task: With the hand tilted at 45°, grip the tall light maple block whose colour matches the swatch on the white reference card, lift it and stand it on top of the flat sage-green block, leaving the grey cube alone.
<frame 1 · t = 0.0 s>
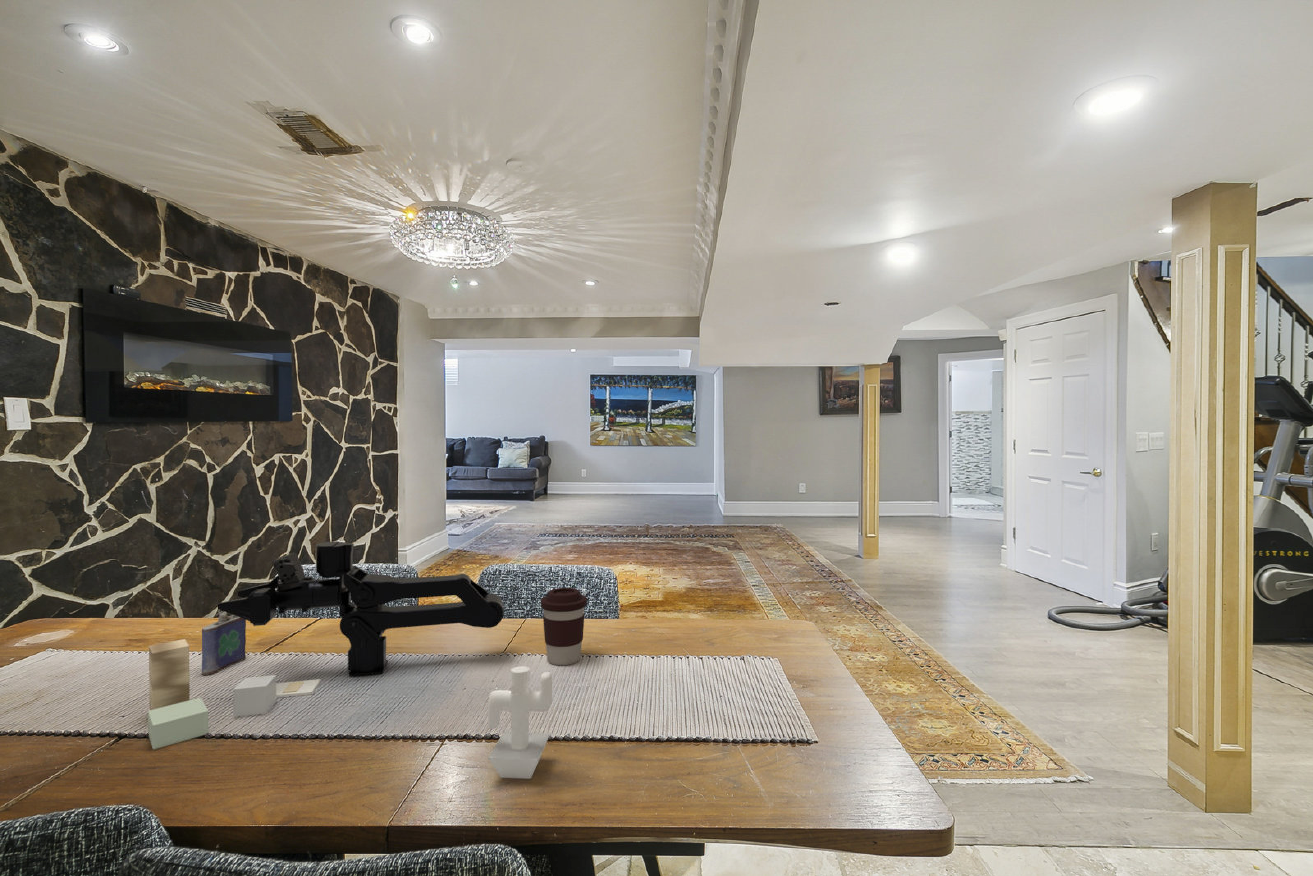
hand: (228, 599, 118), 17 cm above the table, tool horizontal, fingers open, 9 cm apart
flask: (224, 667, 127), on the table
maple pillar: (169, 713, 105), on the table
coffee cup: (563, 660, 130), on the table
grey cube: (255, 709, 107), on the table
figurine: (520, 771, 88), on the table
reference card: (293, 690, 115), on the table
sage base block: (178, 735, 98), on the table
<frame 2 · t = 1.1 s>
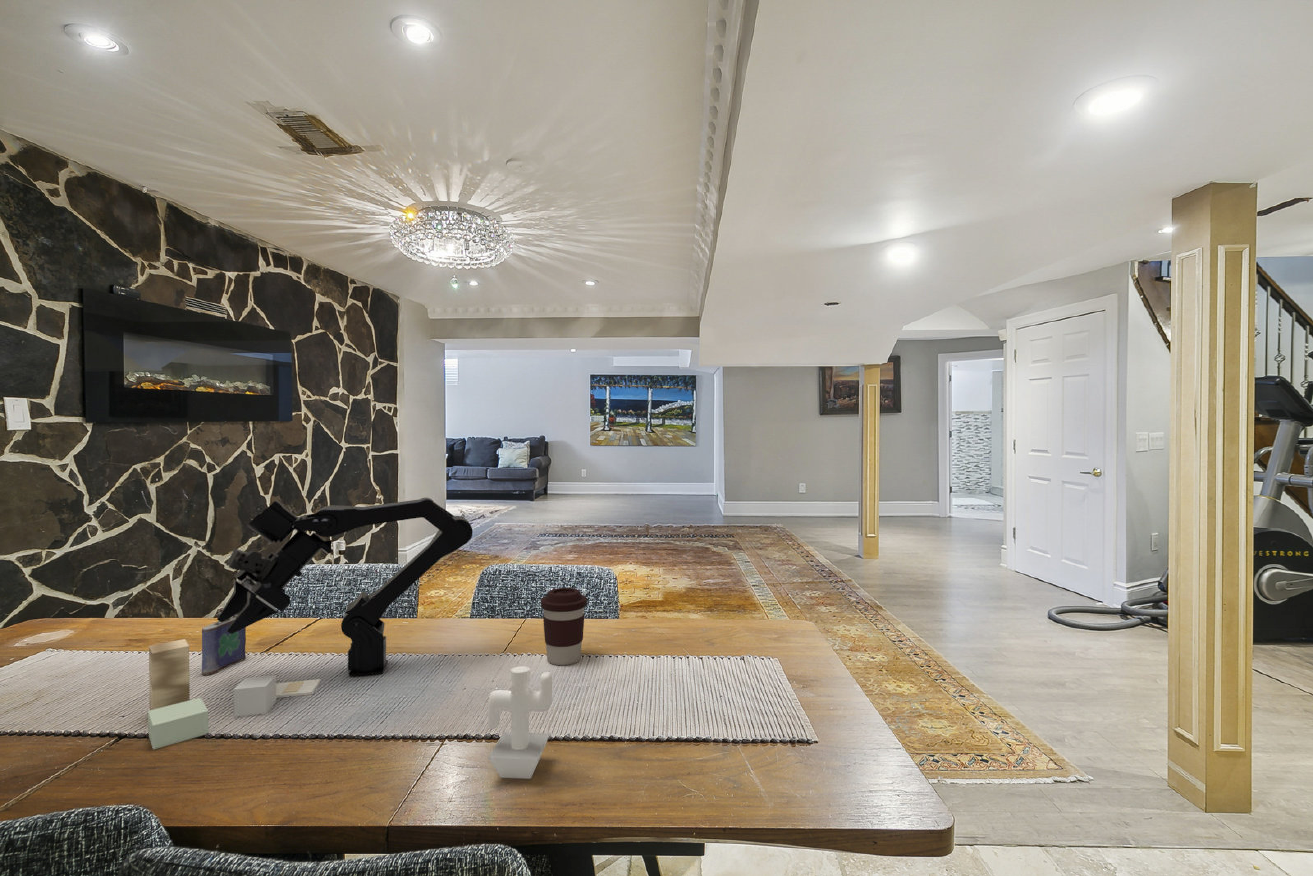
hand: (223, 626, 111), 14 cm above the table, tool tilted 45°, fingers open, 9 cm apart
nothing on the table moved.
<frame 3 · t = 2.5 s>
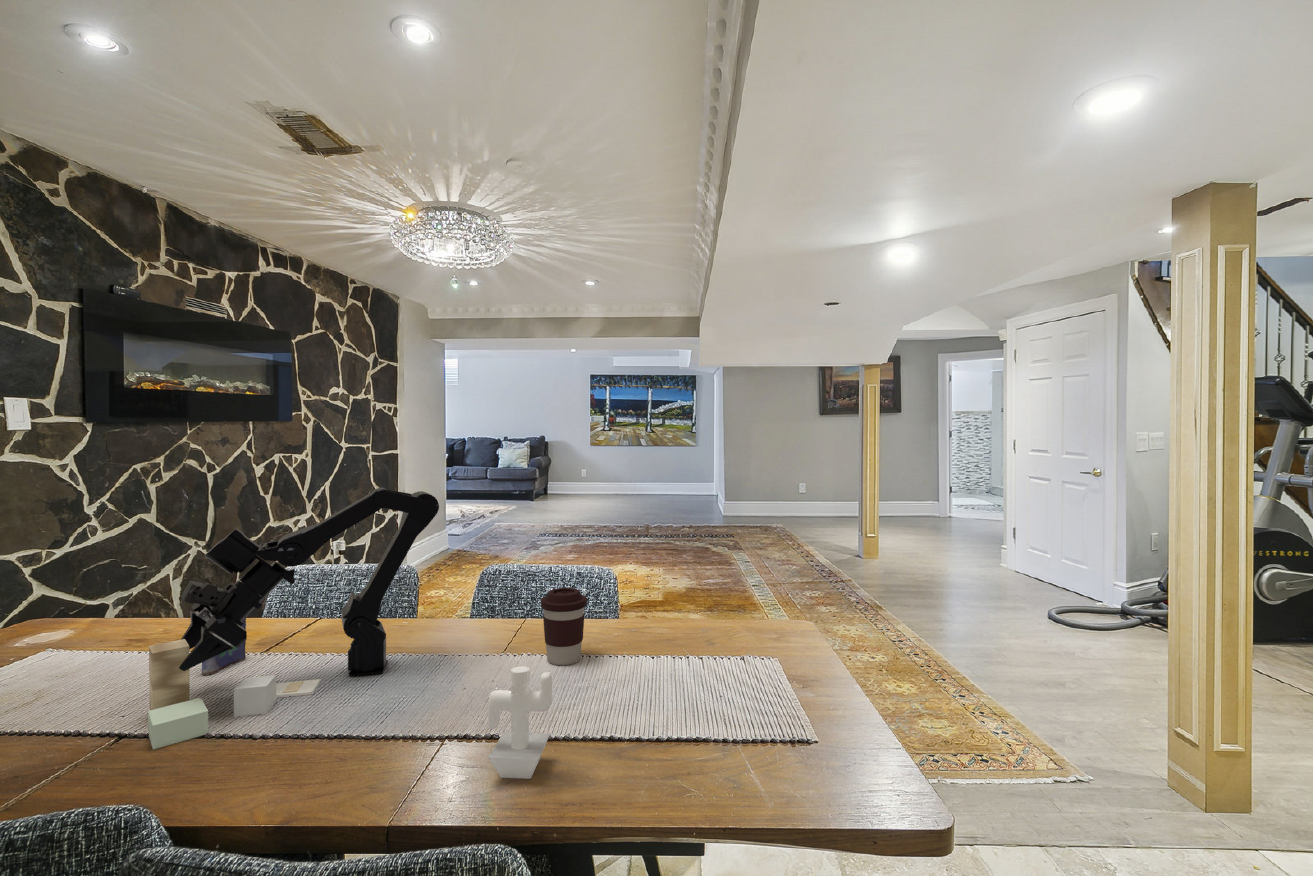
hand: (177, 662, 106), 9 cm above the table, tool tilted 45°, fingers open, 9 cm apart
nothing on the table moved.
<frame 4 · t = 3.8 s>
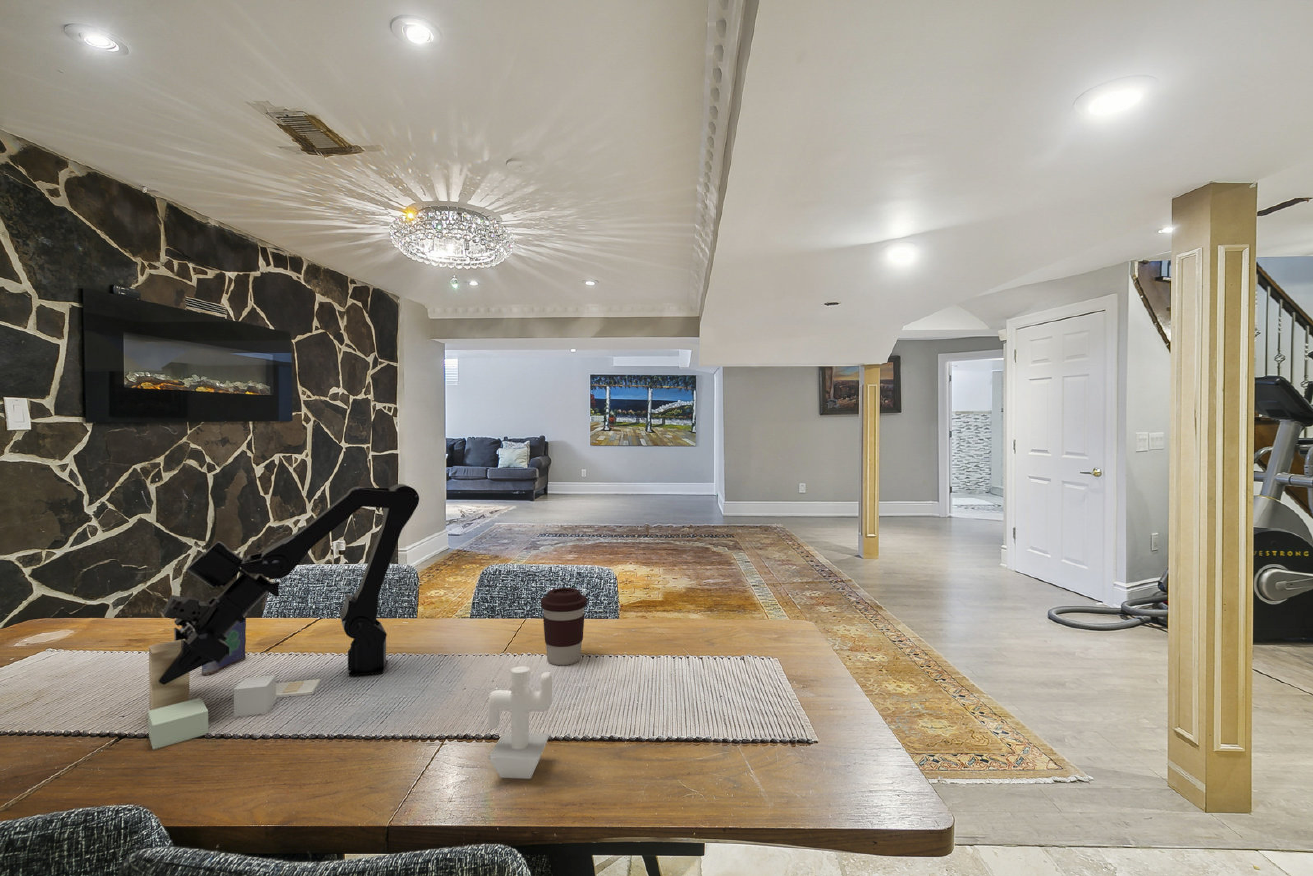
hand: (159, 678, 104), 7 cm above the table, tool tilted 45°, fingers closed on maple pillar, 5 cm apart
maple pillar: (169, 713, 105), on the table, touching gripper
everything else where it was.
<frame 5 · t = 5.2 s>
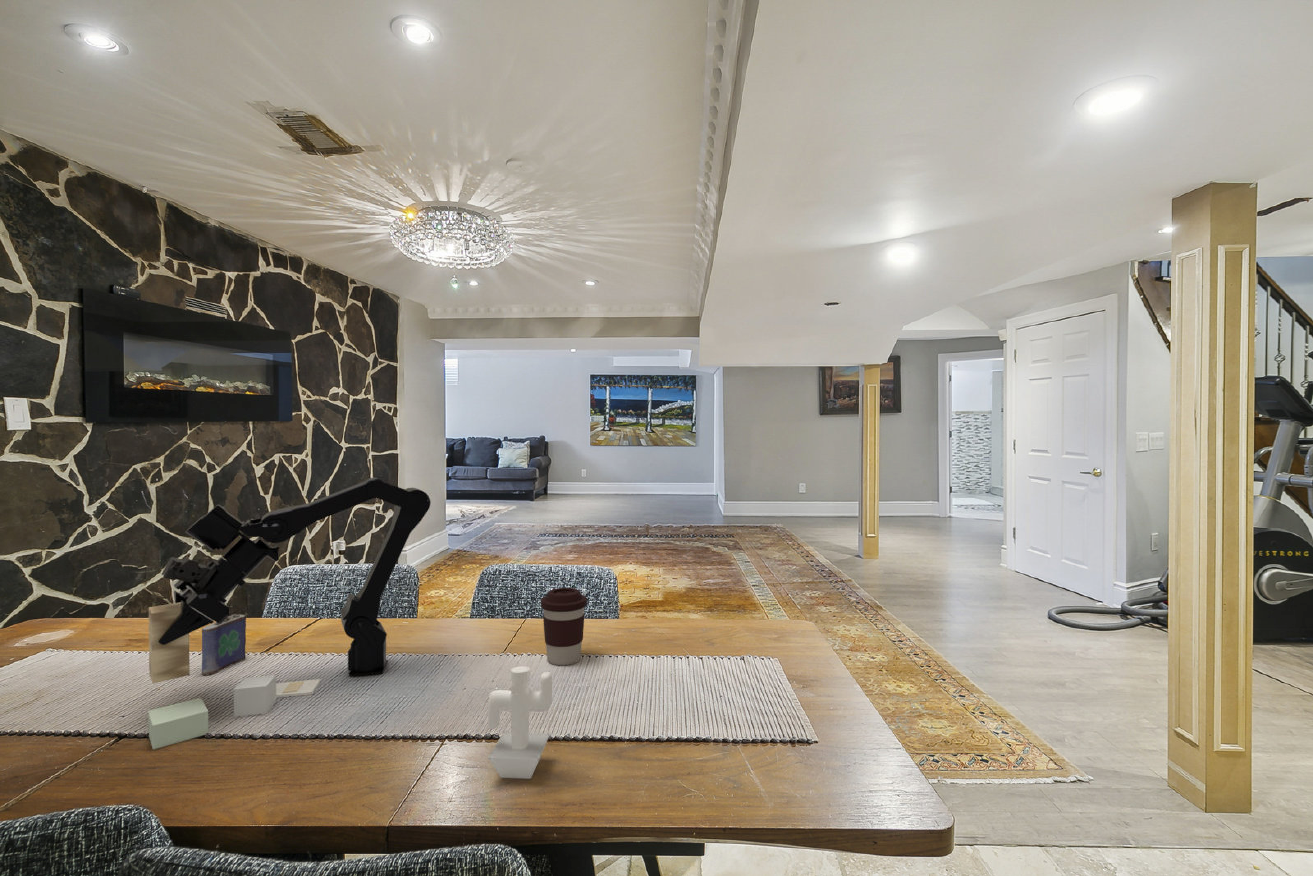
hand: (158, 639, 104), 13 cm above the table, tool tilted 45°, fingers closed on maple pillar, 5 cm apart
maple pillar: (169, 675, 105), point 7 cm above the table, touching gripper
everything else where it was.
when the fingers open (11 cm above the table, at t = 6.8 s): maple pillar drops 1 cm, resting on sage base block.
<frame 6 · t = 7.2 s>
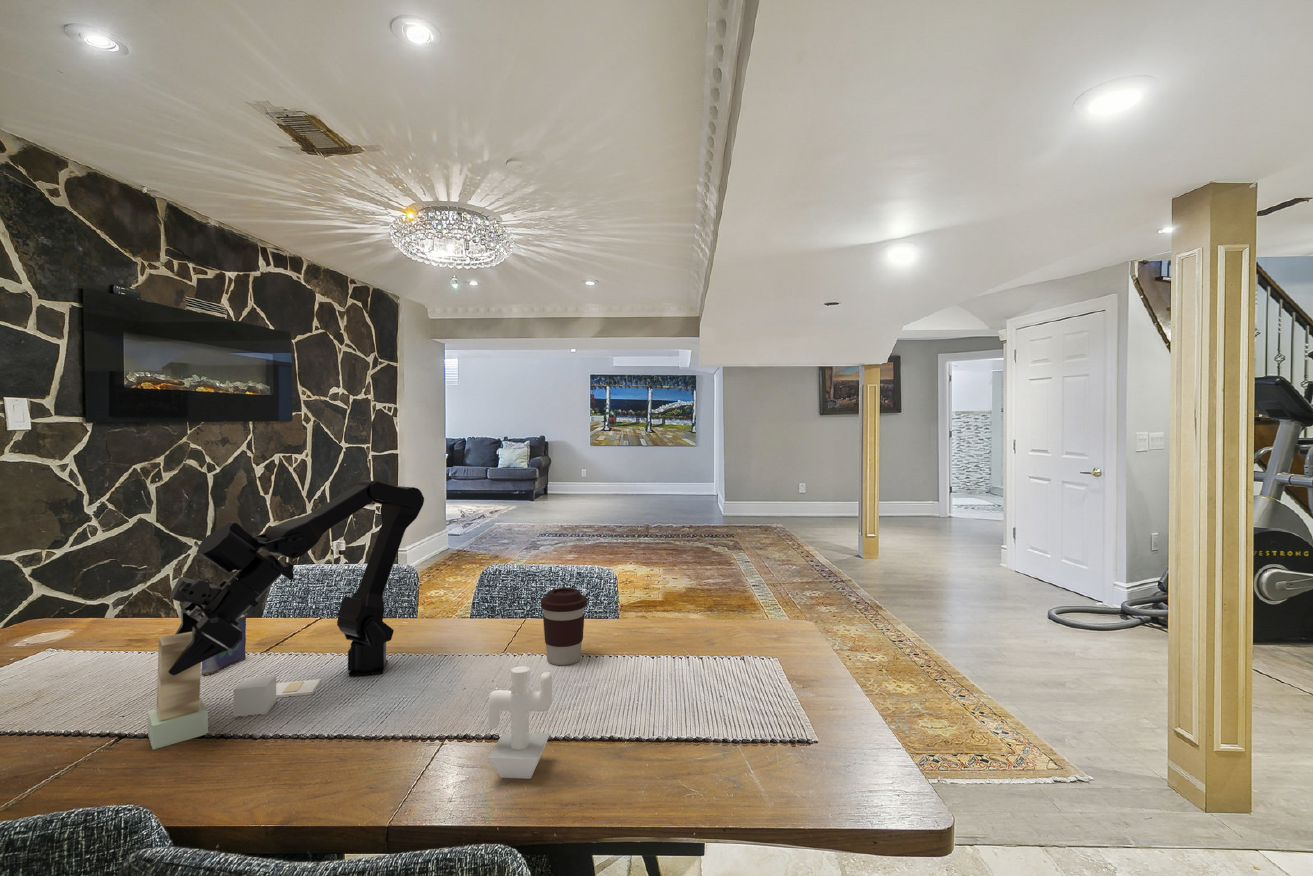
hand: (166, 665, 97), 12 cm above the table, tool tilted 45°, fingers open, 9 cm apart
maple pillar: (177, 710, 98), point 4 cm above the table, touching sage base block
sage base block: (177, 735, 98), on the table, touching maple pillar
everything else where it was.
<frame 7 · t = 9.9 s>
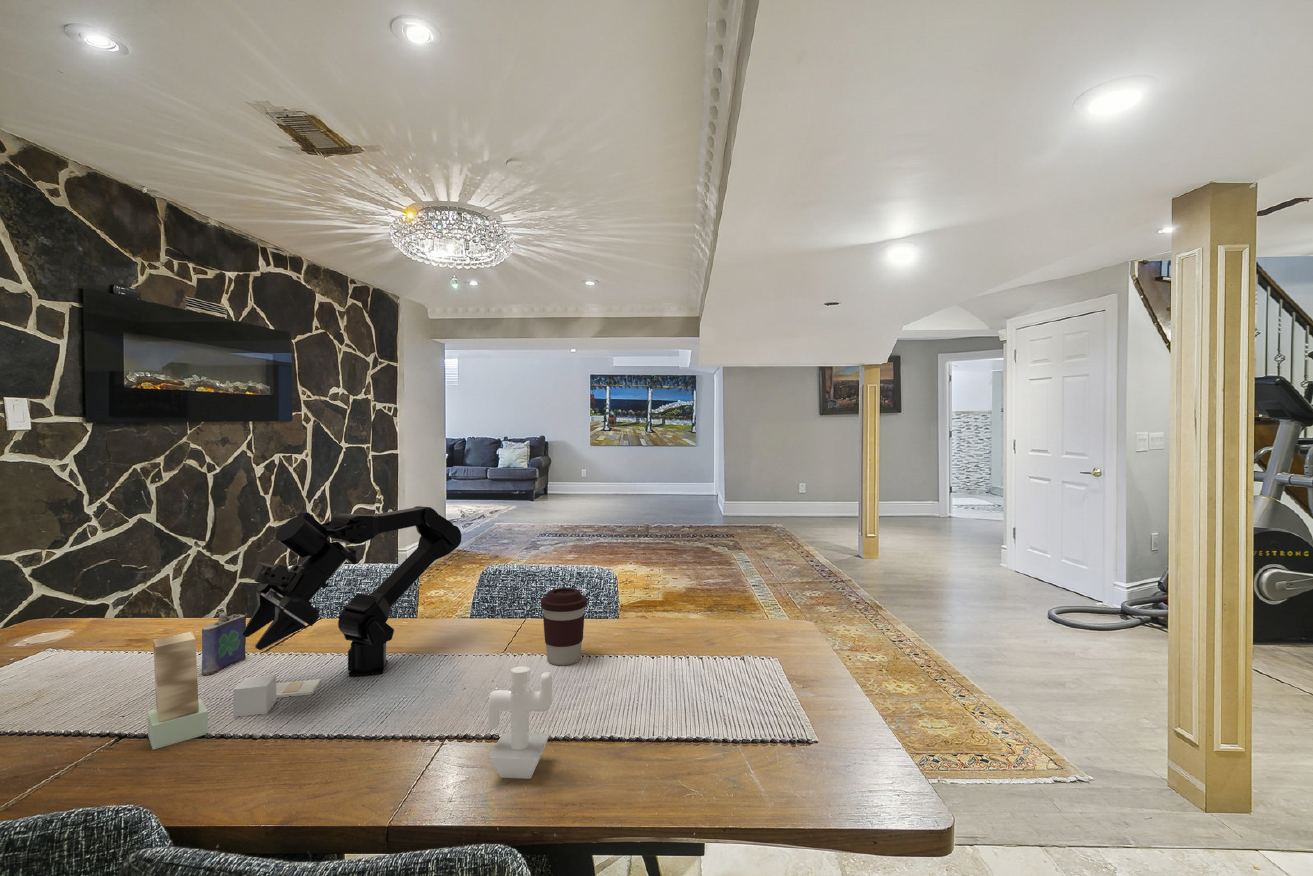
hand: (250, 642, 107), 12 cm above the table, tool tilted 45°, fingers open, 9 cm apart
maple pillar: (177, 711, 98), point 4 cm above the table
sage base block: (177, 735, 98), on the table
everything else where it was.
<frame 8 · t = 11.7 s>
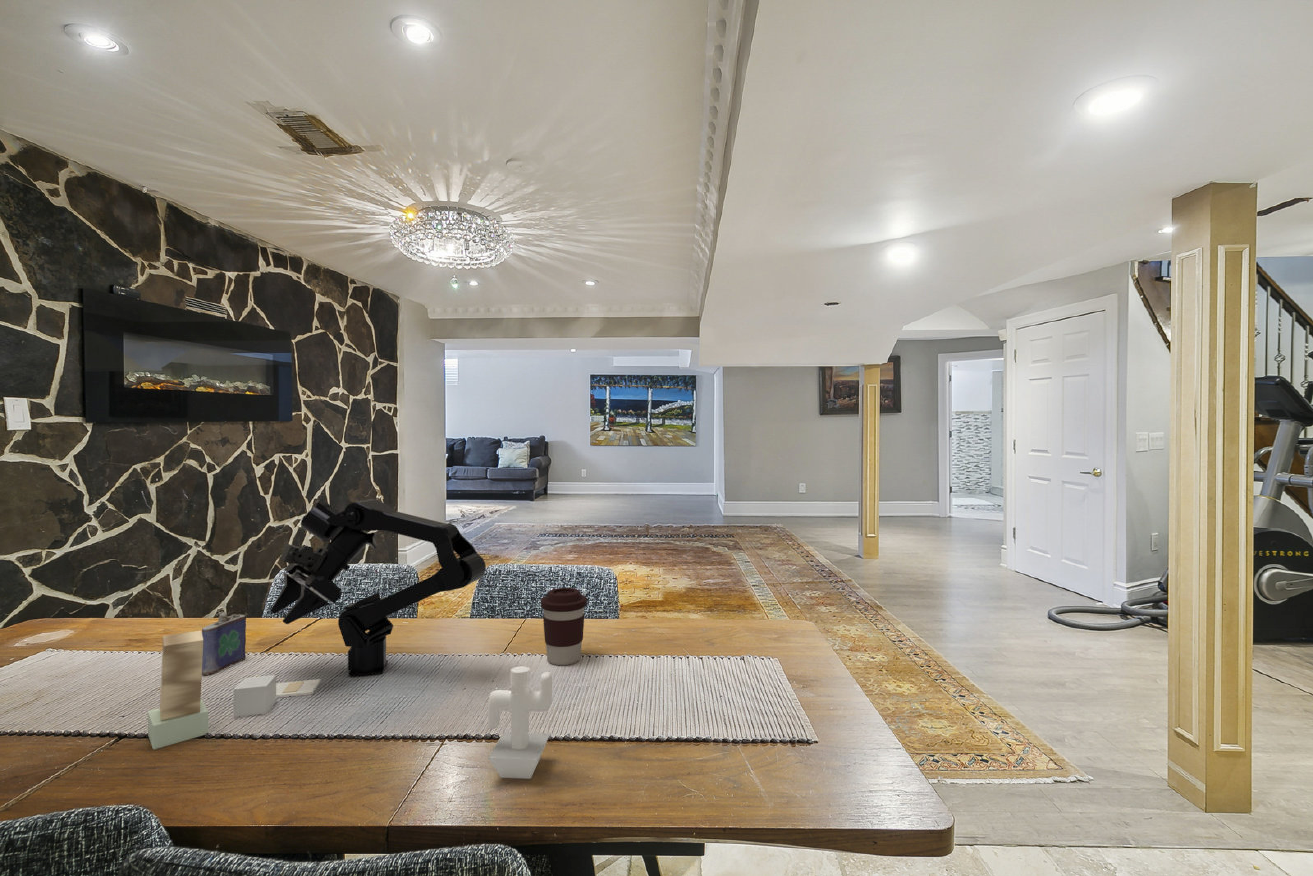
hand: (278, 617, 116), 14 cm above the table, tool tilted 45°, fingers open, 9 cm apart
at the end: maple pillar 0.2 cm off-centre on the sage base block, point 4.2 cm above the sage base block's base; maple pillar tilted 4°; the gripper is holding nothing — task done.
